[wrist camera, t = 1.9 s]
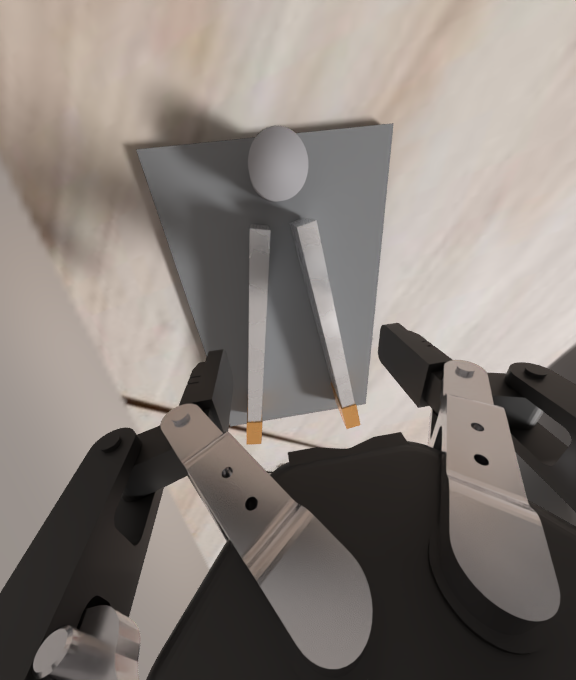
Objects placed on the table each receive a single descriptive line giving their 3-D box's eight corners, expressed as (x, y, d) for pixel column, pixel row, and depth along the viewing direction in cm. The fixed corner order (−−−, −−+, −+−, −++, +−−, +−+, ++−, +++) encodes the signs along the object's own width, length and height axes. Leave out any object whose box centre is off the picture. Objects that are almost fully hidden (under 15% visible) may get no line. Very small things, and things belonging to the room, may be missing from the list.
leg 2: (287, 223, 17) (295, 228, 13) (306, 216, 17) (318, 219, 13) (335, 401, 26) (346, 429, 23) (347, 397, 26) (360, 424, 23)
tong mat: (142, 152, 15) (90, 128, 10) (385, 127, 16) (442, 94, 11) (231, 419, 28) (226, 463, 23) (362, 397, 28) (383, 436, 24)
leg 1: (249, 223, 16) (247, 228, 13) (269, 225, 17) (272, 230, 13) (247, 414, 26) (246, 444, 23) (260, 413, 26) (261, 443, 23)
